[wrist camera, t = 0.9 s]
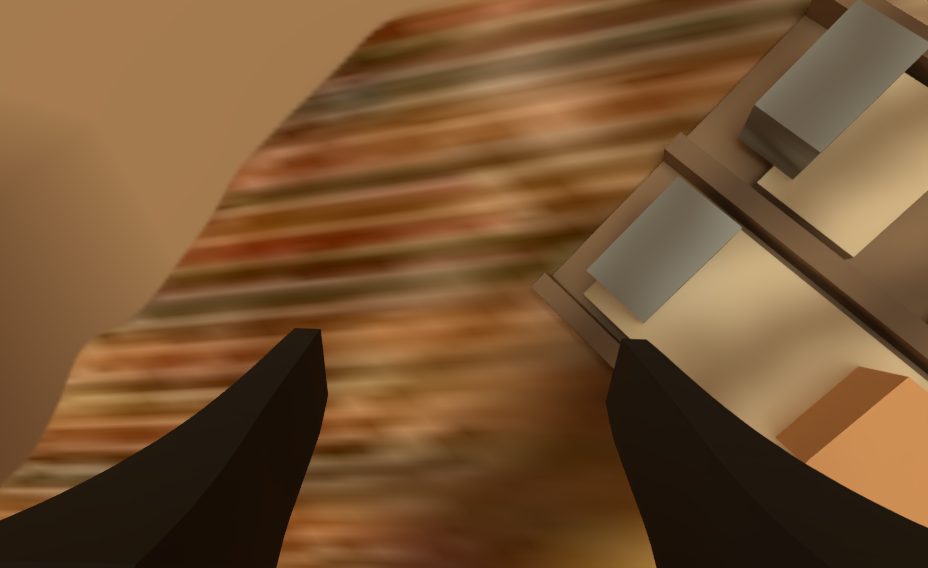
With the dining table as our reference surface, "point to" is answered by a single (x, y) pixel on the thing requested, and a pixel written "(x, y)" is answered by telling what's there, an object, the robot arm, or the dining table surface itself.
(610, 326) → the lane board
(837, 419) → the orange cube
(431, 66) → the dining table surface
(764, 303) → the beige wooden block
